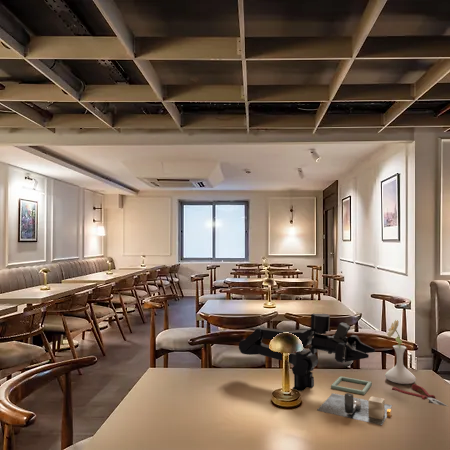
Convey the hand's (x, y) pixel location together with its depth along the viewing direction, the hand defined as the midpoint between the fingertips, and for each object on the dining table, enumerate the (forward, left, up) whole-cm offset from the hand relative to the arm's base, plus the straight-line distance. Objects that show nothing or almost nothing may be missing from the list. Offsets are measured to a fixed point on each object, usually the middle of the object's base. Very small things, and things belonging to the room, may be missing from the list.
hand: (371, 353), depth 138 cm
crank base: (-3, -10, -17) cm, 20 cm away
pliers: (+13, +12, -18) cm, 25 cm away
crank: (-3, -14, -15) cm, 21 cm away
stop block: (+4, -13, -16) cm, 21 cm away
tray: (-9, +9, -17) cm, 21 cm away
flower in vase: (+5, +28, -17) cm, 33 cm away
